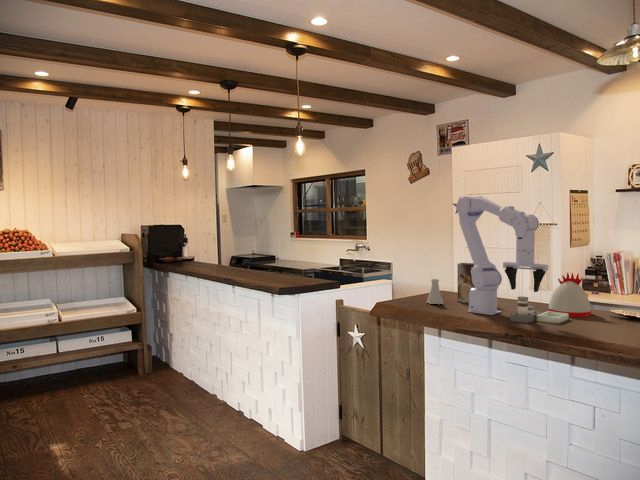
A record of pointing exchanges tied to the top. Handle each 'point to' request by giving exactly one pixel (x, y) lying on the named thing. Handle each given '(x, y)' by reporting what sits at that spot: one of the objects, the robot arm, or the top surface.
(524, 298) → the cylinder
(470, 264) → the coffee box
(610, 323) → the top surface
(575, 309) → the kitchen timer
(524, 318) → the grey compartment rack
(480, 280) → the robot arm
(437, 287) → the flask
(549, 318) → the parts tray
